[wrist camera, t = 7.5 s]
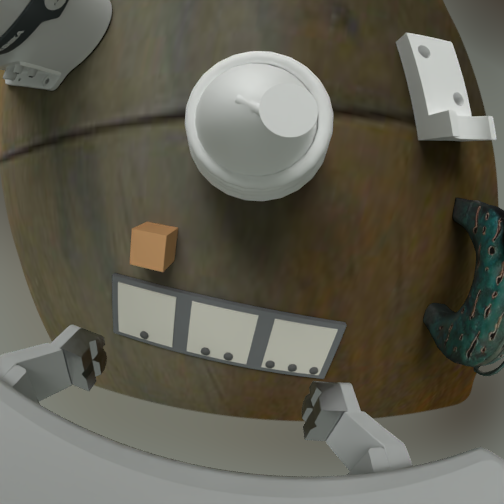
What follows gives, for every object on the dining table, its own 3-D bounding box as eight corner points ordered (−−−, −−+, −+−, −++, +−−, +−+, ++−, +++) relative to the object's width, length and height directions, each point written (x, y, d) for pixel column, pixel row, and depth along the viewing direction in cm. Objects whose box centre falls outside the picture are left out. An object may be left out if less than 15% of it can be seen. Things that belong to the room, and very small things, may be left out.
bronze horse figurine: (451, 181, 28) (577, 209, 9) (483, 195, 28) (595, 228, 8) (411, 325, 33) (484, 427, 14) (443, 327, 33) (516, 414, 14)
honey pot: (339, 114, 27) (419, 58, 10) (287, 217, 30) (311, 279, 13) (232, 65, 26) (193, -33, 9) (180, 166, 29) (82, 169, 12)
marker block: (144, 253, 33) (129, 264, 29) (146, 221, 31) (132, 228, 28) (174, 260, 33) (162, 272, 29) (178, 227, 31) (166, 235, 28)
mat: (116, 329, 36) (112, 334, 35) (115, 272, 33) (110, 276, 32) (322, 375, 36) (324, 380, 35) (345, 322, 34) (347, 327, 32)
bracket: (459, 141, 26) (496, 139, 19) (417, 140, 27) (453, 136, 20) (438, 50, 23) (468, 32, 16) (394, 42, 23) (421, 19, 16)
